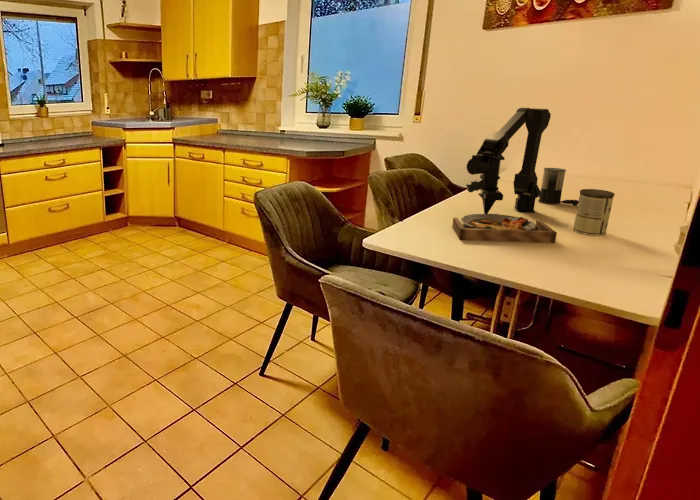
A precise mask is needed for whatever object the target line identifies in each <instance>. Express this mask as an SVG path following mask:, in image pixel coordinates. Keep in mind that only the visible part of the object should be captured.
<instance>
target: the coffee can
mask: <svg viewBox="0 0 700 500" xmlns="http://www.w3.org/2000/svg"><path fill="white" fill-rule="evenodd" d="M614 197H615V192H613V191H610V190H605V189H598V188H597V189H595V188H583V189H580V191H579V197H578V201H579V202H578V204H577V208H576V213H575V218H574V219H575V220H574V224H573V229H572V231H573V232H575V233H577V234H580V235H584V236H588V237H589V236H590V237H603V236H606V235H607V229H608V225H609V220H610V216H611V215H610V214H611V211H612V207H613V201H614Z"/></svg>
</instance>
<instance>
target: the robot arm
mask: <svg viewBox="0 0 700 500" xmlns="http://www.w3.org/2000/svg"><path fill="white" fill-rule="evenodd" d="M551 116H552V115H551V112H550V110H549V109H548V108H532V107H519V108H518V109H516V112H515V114H513V115H512V116H511V117H510V118H509V120H508V121H507V122H506V123H505V124H504V125H502V127H501V128H500V129H499V130H497V131H496V132H494V133H491V134H490V135H489V136H487V137H486V138H485V139H484V140H483V142H482V144H481V145H480V147H479V150H478V151H477V153H476V154H473V155H472V156H471V158H470V159H469V160H468V161H467V164H466V170H467V172H468V174H469V175H470V176H471V175H472V176H473V175H479V176H480V177H478V178H475V179H472V180H468V181H466V182H465V186H466V189H467V192H468V193H473V192H478V191H480V192H479V193H478V196H479V197H480V198H481V200H482V206H483V214H489V212H490V211H491V209H492V207H493V206H494V205H495V202H496V201H503V199H504V194H503V193H502V192H501V191H500V190H499V187H498V183H499V180H501V176H500V168H501V161H504V160H505V157H504V156H503V153H505V151H506V150H507V148H508V147H509V143H510V140H511V138H513V136H514V135H516V133H517V132H518V131H519V130H520V129H521V127H523V126H524V125H525V128H526V130H527V138H526V143H525V149H524V154H523V159H522V166H521V169H520V171H519V172H518V173H515V174H514V180H513V183H512V184H513V192H514V195H517V197H516V198H515V201H514V202H515V204H514V209H515V210H516V211H518V212H520V213H536V210H535V206H536V199H538V198H539V197H540V194H541V188H540V187H539V186H538V176H537V172H536V166H537V160H538V156H539V150H540V145H541V141H542V136H543V133H544V131H545V130H546V129H547V128H548V126H549V123H550V120H551Z"/></svg>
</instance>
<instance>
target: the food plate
mask: <svg viewBox="0 0 700 500" xmlns="http://www.w3.org/2000/svg"><path fill="white" fill-rule="evenodd" d="M460 222H461V223H462V224H464V225H466V226H469V227H470V228H475V229H504V230H535V228H536V227H537V226H536V222H534V221H531V220H529V218H526V217H523V216H519V217H518V216H514V215H508V214H499V213H488V214H485V213H472V214H467V215H464V216H463V217H461V218H460Z"/></svg>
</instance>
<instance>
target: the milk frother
mask: <svg viewBox="0 0 700 500" xmlns="http://www.w3.org/2000/svg"><path fill="white" fill-rule="evenodd" d="M566 172H567V169H565V168H559V167H558V168H557V167H543V174H542V181H541V185H540V186H541V187H540V191H541V194H540V196H539V197H538V198H539V199H538V202H539V203H543V204H547V205H548V204H549V205H559V204H562V203H563V204H564V205H565V204H567V205H572V206H573V207H576V206H577V207H578V202H579V199H578V200H577V199H565V200H564V199H563V200H562V199H561V198H562V191H563V186H564V182H565V176H566Z"/></svg>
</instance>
